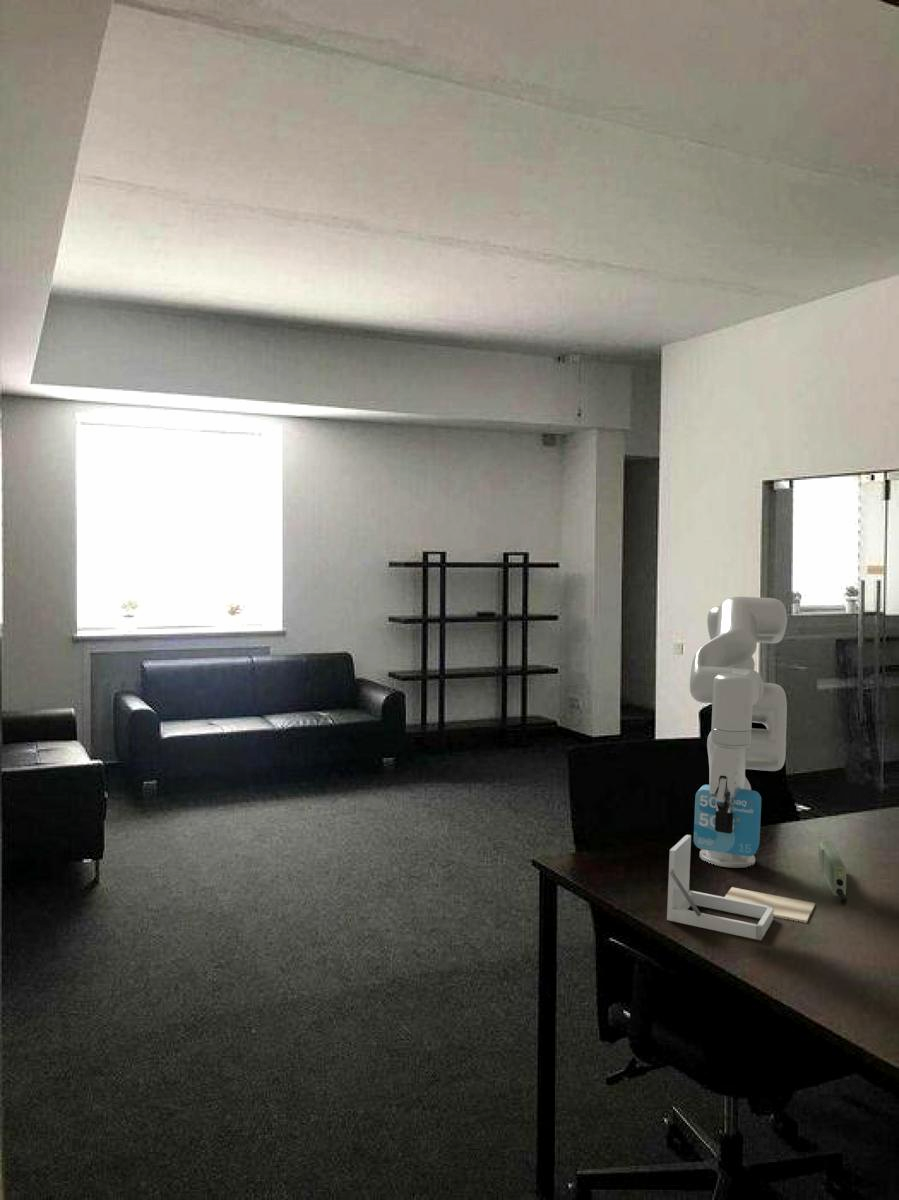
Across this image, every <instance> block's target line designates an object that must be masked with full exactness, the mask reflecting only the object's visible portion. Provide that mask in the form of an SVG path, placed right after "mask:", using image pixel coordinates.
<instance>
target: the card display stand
mask: <svg viewBox="0 0 899 1200" xmlns="http://www.w3.org/2000/svg"><path fill="white" fill-rule="evenodd" d="M691 843H692V835H691V834H686V835H684V836H683V837H682V838H681V839H680V840H679V841H678V842H677V843H676V844H675V845H673V846H672V847H671V848H670V849H669V854H668V855H669V858H668V859H669V860H668V882H667V883H668V885H667V908H666V920H667V921H670V922H675V923H679V924H683V925H688V926H693V927H698V928H703V929H707V930H711V931H714V932H715V931H717V932H720V933H724V934H730V935H734V936H739V937H743V938H748V939H752V940H758V941H762V939H763V938H764V937H765V935H766V932H767V931H768V929H769V928H770V926H771V924H772V922H773V921H774V907H771V906H766V905H761V904H756V903H751V902H746V901H741V900H736V899H731V898H726V897H725V896H721V895H716V894H710V893H706V892H705V893H704V892H701V891H695V890H690V876H691V875H690V874H691V873H690V870H691V852H692V851H691V846H692V844H691ZM697 906H698V907H703V908H708V909H713V910H717V911H723V912H727V913H731V914H737V915H741V916H746V917H751V918H756V919H759V921H758V923H757V924H756V923H752V922H748V921H742V920H738V919H732V918H727V917H724V916H719V915H713V914H708V913H704V912H701V911H700V909H698V907H697ZM690 907H691V908H692V910H689V909H690Z"/></svg>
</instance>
